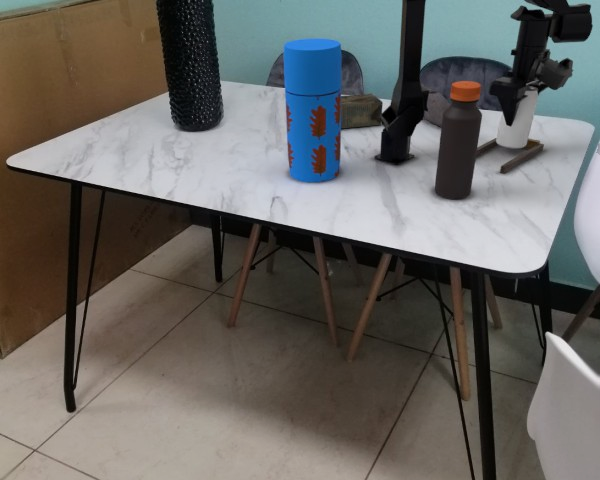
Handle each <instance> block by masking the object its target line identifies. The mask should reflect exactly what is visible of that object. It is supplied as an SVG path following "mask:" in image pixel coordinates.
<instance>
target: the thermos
mask: <svg viewBox="0 0 600 480" xmlns="http://www.w3.org/2000/svg"><path fill="white" fill-rule="evenodd" d="M342 54H343V53H342V44H341V42H340V41H338V40H335V39H329V38H303V39H302V38H301V39H296V40H291V41H288V42H285V43H283V55H282V56H283V76H284V77H283V78H284V97H285V98H284V101H285V121H286V143H287V146H286V147H287V160H288V169H289V176H290V177H291V178H292V179H294V180H297V181H299V182H304V183H323V182H328V181H331V180H334V179H335V178H337V177H338V176H339V174H340V170H341V156H342V155H341V149H342V146H341V145H342V144H341V143H342V139H341V138H342V128H341V96H342V61H343V59H342V57H343V55H342Z"/></svg>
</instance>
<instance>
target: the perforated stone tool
mask: <svg viewBox="0 0 600 480" xmlns="http://www.w3.org/2000/svg"><path fill="white" fill-rule="evenodd" d="M426 88H427V89H428V90H429V96H428V100H427V108H428V111H425V114H424V118H423V119H424V120H426V121H428V122H429V123H431V124H433V125H436V126H438V127H440V128H441V127H442V118H443V113H444V111H445V110H446V109H447V108H448V107H450V106H451V104H450V102H449V101H448V99H446V97H445V96H444V95H443V94H441V92H439V91H437V90H435V89H433V88H431V87H426Z"/></svg>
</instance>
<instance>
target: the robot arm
mask: <svg viewBox="0 0 600 480" xmlns="http://www.w3.org/2000/svg"><path fill="white" fill-rule="evenodd" d="M523 1H524V2H526V4H530V5H533V6H535V7H539V9H537V8H536V9H529V8H528V7H527V6H525V5H520V6H519V7H518V8H517V9H516V10H515V11H514V12H512V13H511V14H510V17H509V18H510V19H512V20H514V21H517V22H519V27H518V33H517V39H516V45H515V48H512V49H511V50H510V56H513V63H512V67H511V69H509V70H508V71H507V73H506V76H501V77H499V78H497V79H494V80H493V81H492V82H490V83H489V86H488V92H487V93H488V95H490V96H494V97H496V98H497V101H498V103H499V105H500V108H501V113H502V112H503V115H504V118H505V122H506V125H507V126H510V127H511V126H512V124H513V122H514V119H515V116H516V113H517V110H518V107H519V104H520V102H521V101H522V100H524V99H525V98H526V97H528V95H524V94H525V92H526V87H527V85H528V86H533V87H536V88H538V90H537V93H538V96H539V95H540V94H541V93H542V92H544V91H545V90H547V89H551V90H552V91H557V90H559V89H561V88H563V87H565V85H566V83H567V81H568V80H569V79H570V78H572V77H573V72H574V69H573V67H574V66H573V65H574V60H573V59H570V58H569V57H565V58H563V59H561V60H560V61H559V60H557V59H555V60H553V59H552V58H551V50H550V48H547V47H548V42H549V38H551V39H550V40H551V41H552V42H553V43H554V44H564V43H566V44H567V43H583V42H586V41H587V40H588V39H589V37H590V36H591V33H592V31H593V26H594V25H593V16H592V13H591V8H592V4H589V3H586V2H585V3H583V2H582V3H577V4H569V2H568V0H523ZM426 2H427V0H401V3H402V4H401V21H400V22H401V23H400V41H399V61H398V75H397V76H398V77H397V80H396V82H395V85H394V88H393V90H392V96H391V100H390V104H389V106H387V108H385V109H384V111H382V114H381V115H380V116H379V117H380V120H381V126H383V129H382V131H381V133H380V153H378V154H376V155H374V157H373V158H374V160H378V161H381V162H384V163H387V164H390V165H393V166H400V165H402V164H404V163H407V162H408V161H411V160H412V159H415V157H416V155H415V154H412V153H411V152H410V151H411V142H412V141H411V140H412V136H413V134H414V132H415V130H416V127H417V125H419V124H420V123H421V122H422V121H423V119H424V114H425V111H428V108H427V100H428V96H429V90H428V89H427V88H428V87H426V86H425V85H424V84H423V83H422V82H421V71H422V70H421V68H422V55H423V43H424V27H425V15H426V14H425V13H426ZM540 8H542V9H540ZM543 9H544V10H548V11H550V12H552V13H545V12H544V10H543Z"/></svg>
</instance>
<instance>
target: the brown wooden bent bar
mask: <svg viewBox="0 0 600 480" xmlns="http://www.w3.org/2000/svg"><path fill="white" fill-rule="evenodd" d="M496 138H497V137H494V138H493V139H491V140H489V141H487V142H485V143H483V144H481V145H478V147H477V153H476V158H478V157H479V156H481V155H483V154H485V153H487V152H488V151H490V150H493V149H494V148H496V147H498V146H499V145H498V144H497V142H496ZM544 147H545V143H541V140H537V139H533V138H529V137H528V140H527V144H526V146H525V147H524V148H523V149H527V150H526V151H524V152H522V153H520V154H519V155H517V156H515V157H514V158H512V159H510V160H509V161H507V162H505V163H503V164H502V165H500V170H499V173H500V174H504V175H505V174H507V173H508V172H510V171H512V170H513V169H515V168H516V167H518V166H520V165H521V164H524V163H525V162H527V161H528V160H530V159H532V158H533V157H535V156H537V155H538V154H540V153H541V152H543V151H544Z"/></svg>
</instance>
